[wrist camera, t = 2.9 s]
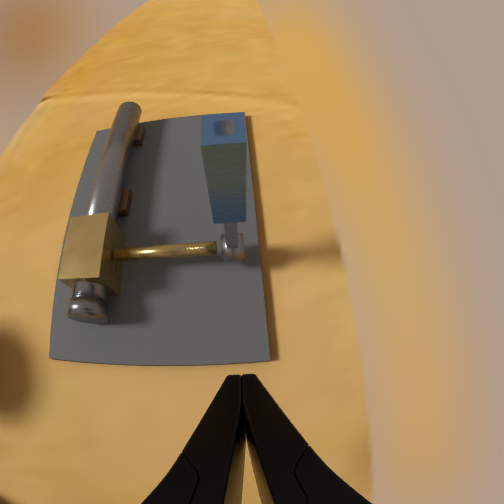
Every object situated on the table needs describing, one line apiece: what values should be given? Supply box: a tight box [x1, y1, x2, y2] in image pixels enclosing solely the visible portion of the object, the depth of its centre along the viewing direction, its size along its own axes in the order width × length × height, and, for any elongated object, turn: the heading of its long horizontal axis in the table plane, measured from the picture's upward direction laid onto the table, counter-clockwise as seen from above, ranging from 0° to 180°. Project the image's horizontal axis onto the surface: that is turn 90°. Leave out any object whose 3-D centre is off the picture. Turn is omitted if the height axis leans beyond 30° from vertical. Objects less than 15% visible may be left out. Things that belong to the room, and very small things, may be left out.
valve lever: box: [201, 113, 246, 262], centre depth 17 cm, size 2×2×12 cm
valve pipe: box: [58, 102, 217, 324], centre depth 24 cm, size 23×12×4 cm, turn 5°
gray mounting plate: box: [49, 112, 270, 366], centre depth 25 cm, size 26×18×1 cm
